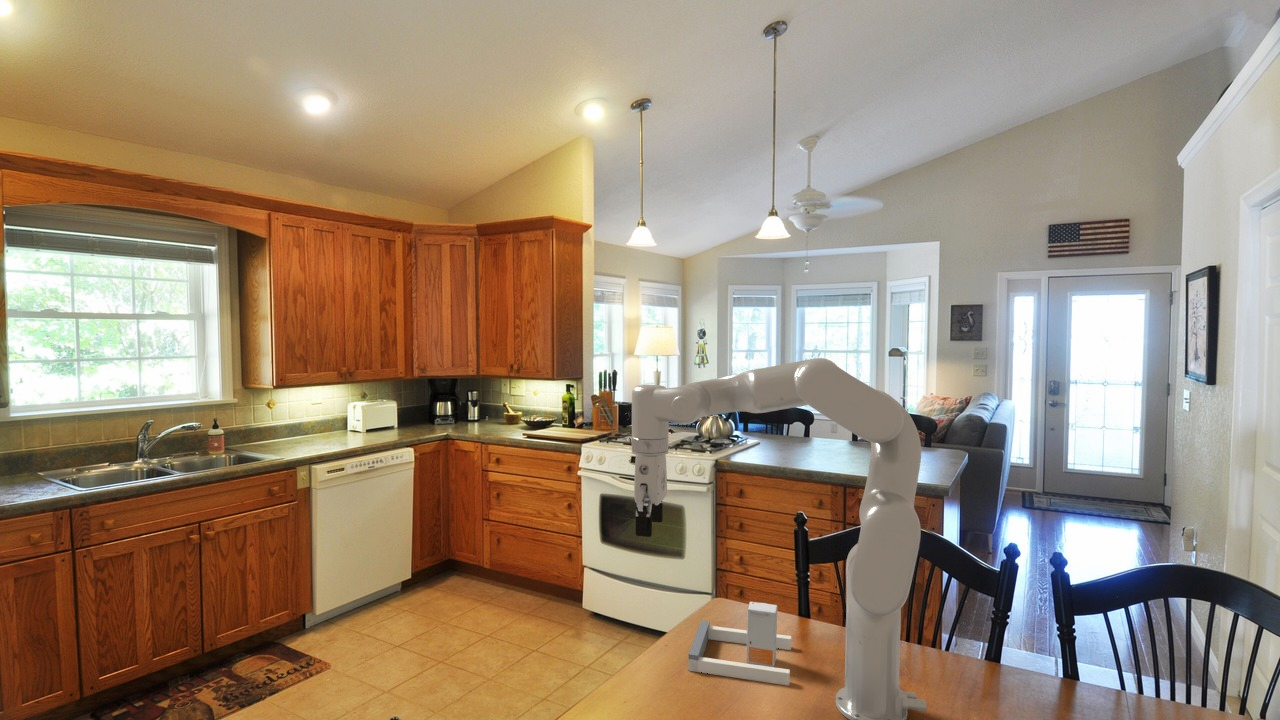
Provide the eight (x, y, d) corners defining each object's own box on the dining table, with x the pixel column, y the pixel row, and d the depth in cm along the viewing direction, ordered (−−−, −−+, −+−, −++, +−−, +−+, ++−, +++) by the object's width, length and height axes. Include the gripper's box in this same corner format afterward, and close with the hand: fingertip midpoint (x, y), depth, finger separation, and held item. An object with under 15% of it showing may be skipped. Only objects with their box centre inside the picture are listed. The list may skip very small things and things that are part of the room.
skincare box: (746, 664, 132) (746, 608, 132) (748, 654, 137) (749, 600, 136) (775, 668, 131) (776, 612, 130) (776, 658, 135) (777, 604, 134)
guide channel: (791, 646, 140) (791, 631, 140) (789, 685, 124) (789, 668, 124) (700, 634, 145) (701, 620, 145) (688, 670, 130) (688, 654, 129)
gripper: (658, 454, 117) (658, 543, 118) (676, 439, 134) (675, 518, 135) (620, 452, 119) (620, 540, 120) (642, 438, 136) (642, 515, 137)
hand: (649, 528), depth 127 cm, fingers open, 9 cm apart
